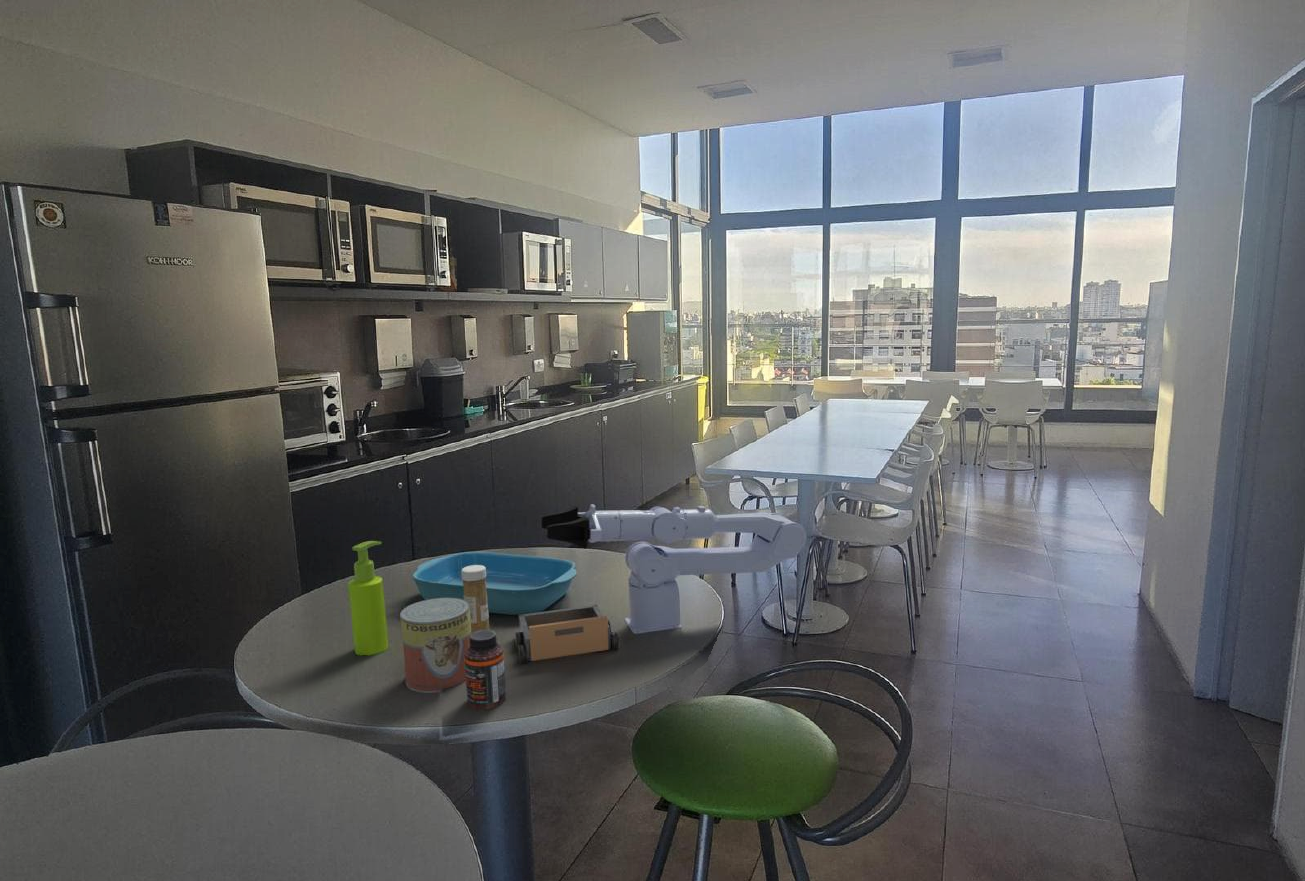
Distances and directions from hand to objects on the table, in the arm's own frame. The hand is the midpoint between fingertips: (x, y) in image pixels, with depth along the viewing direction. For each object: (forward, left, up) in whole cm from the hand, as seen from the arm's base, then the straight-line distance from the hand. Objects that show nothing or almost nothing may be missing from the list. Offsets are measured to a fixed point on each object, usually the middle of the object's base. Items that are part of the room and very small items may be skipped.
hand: (544, 527), depth 139 cm
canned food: (+20, +9, -22) cm, 31 cm away
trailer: (-2, +3, -22) cm, 22 cm away
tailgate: (-2, +10, -21) cm, 23 cm away
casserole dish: (+8, -27, -22) cm, 36 cm away
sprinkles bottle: (+13, -7, -22) cm, 26 cm away
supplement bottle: (+13, +21, -22) cm, 33 cm away
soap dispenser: (+32, -8, -22) cm, 40 cm away
